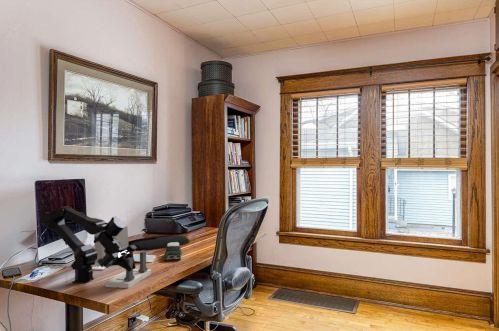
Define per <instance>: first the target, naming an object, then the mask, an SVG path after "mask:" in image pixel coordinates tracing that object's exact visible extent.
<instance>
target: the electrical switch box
mask: <svg viewBox="0 0 499 331" xmlns="http://www.w3.org/2000/svg"><path fill="white" fill-rule="evenodd" d="M128 229H129V228H128V226H127V225H126V226H125V228H124V229H123V230H122V231H121V232H120V233H119V234H118V235H117V236H113V237H114V238H115V239H116V240H118V239H119V240H120V242H119V243H120V245H121V246H122V247H124V246H125V247H126V248H127V247H128V246H129V245H128V241H129V234H128V233H129V232H128ZM99 234H100V233H97V234H93V235H94V236H93V237H95V236H98V235H99ZM126 248H125V249H126ZM94 249H96V252H97V254H98V255H97V260H96V261H97V263H98V260H99V259H100V258H103V257H104V256H105V255H106V254H105V252H104V250H105V248H104V247H103V246H102V245H101V243H100V242H96V243H94ZM125 249H124V250H125ZM96 261H95V262H96Z"/></svg>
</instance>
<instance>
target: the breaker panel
mask: <svg viewBox="0 0 499 331" xmlns="http://www.w3.org/2000/svg"><path fill="white" fill-rule="evenodd" d="M139 269H140V268H135V269H133V276H135V278H134V279H132V280H131V281H126V280H124V278H125V277H126V270H123V271H122V272H121V273H119V274H117V275H115V276H114V277H112V278H110V279H107V280H106V281H104V287H105V288H117V287H118V289H119V288H120V289H130V288H131V287H133V286H134V285H135V284H137V283H139V282H140V281H142V280H143V279H145V278H147V277H148V276H150V275H151V274H152V269H151V268H150V269H149V268H148V270H147V271H145V272H138V270H139Z"/></svg>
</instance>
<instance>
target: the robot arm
mask: <svg viewBox="0 0 499 331" xmlns="http://www.w3.org/2000/svg"><path fill="white" fill-rule="evenodd" d="M65 218H66V219H68V220H69V221H72V222H74V223H75V224H78V225H79V226H81V227H82V228H83V230H84V231H85V232H86V233H88V234H89V235H92V236H93V235H94V234H97V233H100V234H99V235H98V236H95V237H94V236H93V237H94V238H93V243H94V244H95V243H96V242H100V243H101V245H102V246H103V247H104V248H105V250H104V252H105V254H106V255H105V256H104V257H103V258H100V259H99V260H98V262H97V263H98V264H99V266H100V267H101V268H106V269H108V268H110V267H114V266H119V267H120V268H123V269H124V270H125V271H126V270H128V271H129V272H130V271H131V270H132V269H131V267H130V265H129V263H128V261H127V259H128V258H130V257H131V258H133V269H137V268H136V267H137V266H136V263H135V259H134V254H133V253H134V252H135V250H136V249H137V247H136V246H135V245H130V246H128V247H127V248H126V247H125V246H124V247H122V246H121V245H120V243H119V242H120V240H119V239H118V240H116V239H115V238H114V237H113V236H117V235H118V234H119V233H120V232H121V231H122V230H123V229H124V228H125V226H127V225H126V222H125V221H124V220H122V219H121V218H117V216H112V217H111V218H110V220H109V221H108V222H106V221H105V220H103V219H100V218H96V217H90V216H88V215H86V214H84V213H82V212H80V211H77V209H74V208H73V207H71V206H67V205H66V206H61V207H59V208H56V209H53V210H52V211H48V212H44V213H42V214H41V216H40V222H41V224H42V225H43V226H45V227H46V228H47V229H50V230H53V231H54V232H56V234H57V235H58V236H59V237H60V238H61V240H62V241H63V242H64V243H65V244H66V245H67V247H69V249H71V251H73V257H74V258H73V259H75V260H74V261H73V262H72V263H71V264H70V266H71V269H72V270H75V271H74V279H73V280H72V283H73V284H75V283H77V284H86V283H89V282H91V281H92V280H94V279H95V277H94V275H93V274H94V272H93V266H95V264H96V260H97V255H98V254H97V252H96V249H95V247H94V246H93V245H92V244H90V243H89V244H84V243H83V242H82V240H80V239H79V238H78V236H77V235H76V234H75V233H74V232H73V231H72V229H70V228H69V227H68V226H67V224H66V223H65ZM125 248H126V249H125ZM124 249H125V250H124ZM136 251H137V250H136Z"/></svg>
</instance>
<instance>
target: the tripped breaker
mask: <svg viewBox="0 0 499 331" xmlns="http://www.w3.org/2000/svg"><path fill="white" fill-rule="evenodd" d="M133 258H134V257H133ZM133 258H131V257H130V258H128V259H127V261H128V263H129V265H130V267H131V269H132V270H131V271H130V272H129V271H128V270H126V269H125V271H126V277H125V278H124V280H126V281H131V280H132V279H134V278H135V276H133Z"/></svg>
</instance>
